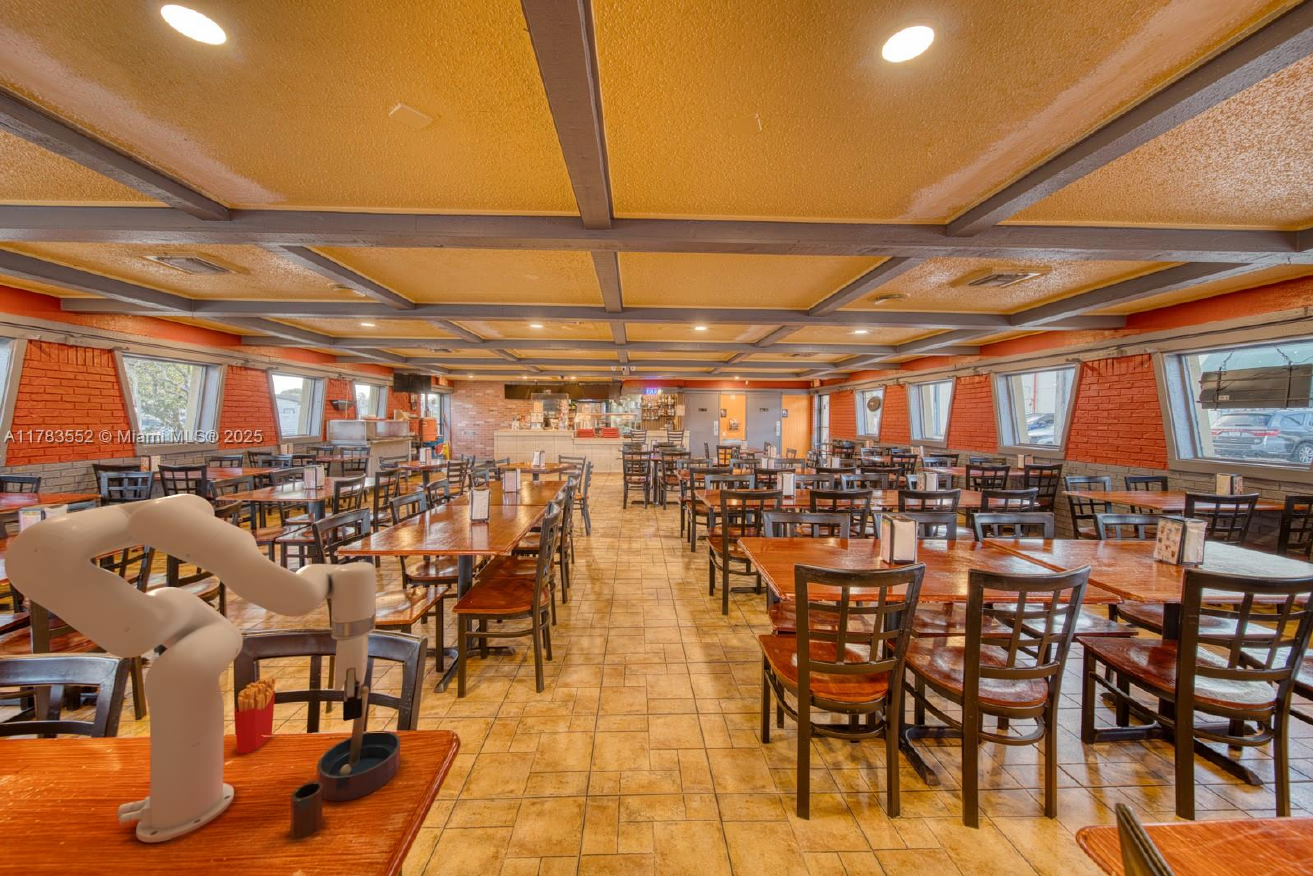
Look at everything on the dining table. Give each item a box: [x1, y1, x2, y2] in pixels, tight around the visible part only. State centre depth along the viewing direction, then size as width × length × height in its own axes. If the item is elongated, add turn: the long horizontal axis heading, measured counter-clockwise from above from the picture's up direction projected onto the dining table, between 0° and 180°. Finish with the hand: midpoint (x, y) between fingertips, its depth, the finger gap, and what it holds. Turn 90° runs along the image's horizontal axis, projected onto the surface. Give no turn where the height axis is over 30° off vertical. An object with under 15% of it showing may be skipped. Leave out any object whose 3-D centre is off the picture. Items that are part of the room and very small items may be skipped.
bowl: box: [316, 730, 402, 802], centre depth 95 cm, size 14×14×5 cm
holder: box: [290, 780, 324, 839], centre depth 82 cm, size 4×4×7 cm
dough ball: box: [340, 764, 352, 776], centre depth 95 cm, size 2×2×2 cm
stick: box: [348, 685, 370, 766], centre depth 96 cm, size 2×2×16 cm
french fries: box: [233, 677, 277, 755], centre depth 105 cm, size 9×4×13 cm, turn 3°
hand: (353, 714), depth 96 cm, fingers closed on stick, 2 cm apart
